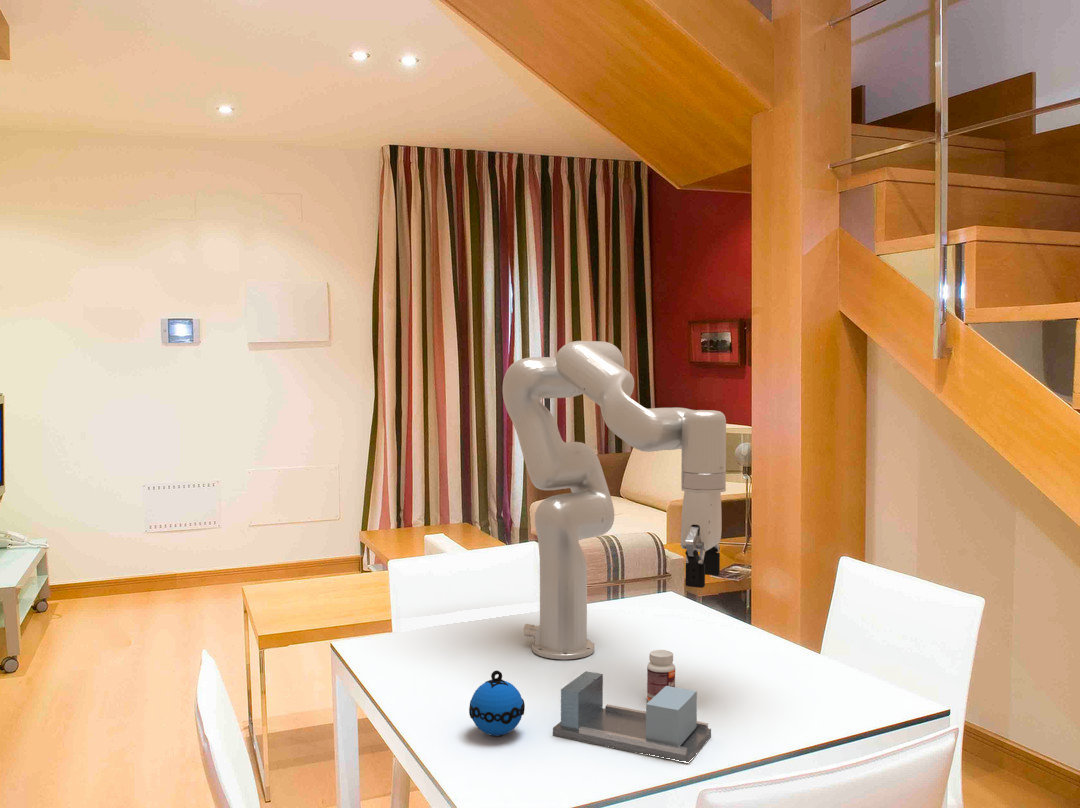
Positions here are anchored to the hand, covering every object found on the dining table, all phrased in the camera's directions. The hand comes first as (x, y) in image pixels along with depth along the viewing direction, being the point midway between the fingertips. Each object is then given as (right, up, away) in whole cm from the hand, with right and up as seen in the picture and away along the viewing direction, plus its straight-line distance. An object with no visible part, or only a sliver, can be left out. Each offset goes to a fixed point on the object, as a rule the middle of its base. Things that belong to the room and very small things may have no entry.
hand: (703, 580), depth 157 cm
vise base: (-14, -21, -16) cm, 30 cm away
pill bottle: (-7, -21, -1) cm, 22 cm away
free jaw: (-8, -20, -19) cm, 28 cm away
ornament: (-35, -21, -15) cm, 43 cm away
